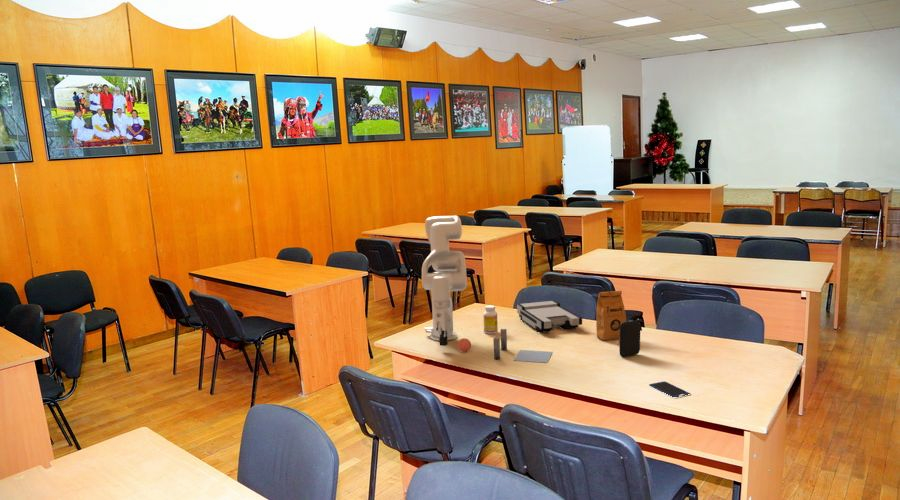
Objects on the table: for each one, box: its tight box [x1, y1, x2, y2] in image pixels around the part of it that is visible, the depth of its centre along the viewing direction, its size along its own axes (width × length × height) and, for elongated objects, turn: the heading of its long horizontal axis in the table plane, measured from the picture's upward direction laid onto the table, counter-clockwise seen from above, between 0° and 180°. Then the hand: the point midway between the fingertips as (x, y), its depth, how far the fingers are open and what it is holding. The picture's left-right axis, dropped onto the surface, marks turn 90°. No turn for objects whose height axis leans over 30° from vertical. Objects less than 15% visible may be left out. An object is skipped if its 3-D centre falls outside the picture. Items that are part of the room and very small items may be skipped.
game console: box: [516, 300, 583, 334], centre depth 301 cm, size 21×32×8 cm, turn 14°
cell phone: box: [648, 381, 691, 398], centre depth 215 cm, size 7×14×1 cm, turn 21°
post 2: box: [500, 328, 508, 352], centre depth 265 cm, size 3×3×9 cm
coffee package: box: [595, 290, 627, 341], centre depth 275 cm, size 10×12×22 cm
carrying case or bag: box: [618, 319, 643, 358], centre depth 251 cm, size 11×3×15 cm, turn 111°
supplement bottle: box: [482, 304, 499, 335], centre depth 292 cm, size 7×7×13 cm
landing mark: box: [513, 349, 553, 364], centre depth 255 cm, size 14×14×1 cm
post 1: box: [492, 336, 501, 361], centre depth 253 cm, size 3×3×9 cm
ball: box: [457, 338, 472, 353], centre depth 264 cm, size 6×6×6 cm
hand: (443, 345), depth 266 cm, fingers closed
